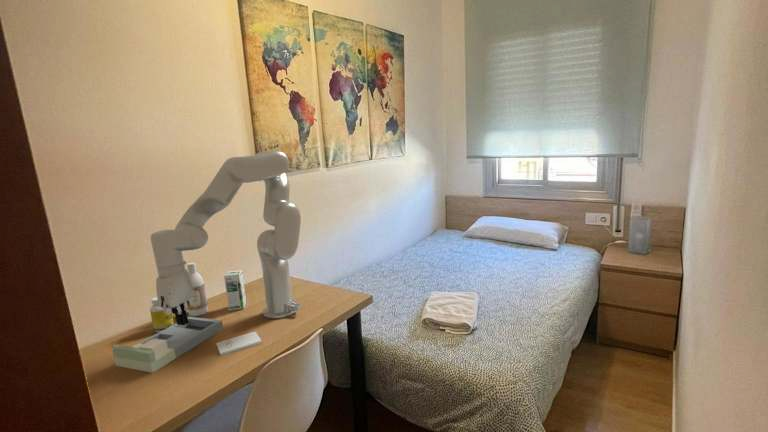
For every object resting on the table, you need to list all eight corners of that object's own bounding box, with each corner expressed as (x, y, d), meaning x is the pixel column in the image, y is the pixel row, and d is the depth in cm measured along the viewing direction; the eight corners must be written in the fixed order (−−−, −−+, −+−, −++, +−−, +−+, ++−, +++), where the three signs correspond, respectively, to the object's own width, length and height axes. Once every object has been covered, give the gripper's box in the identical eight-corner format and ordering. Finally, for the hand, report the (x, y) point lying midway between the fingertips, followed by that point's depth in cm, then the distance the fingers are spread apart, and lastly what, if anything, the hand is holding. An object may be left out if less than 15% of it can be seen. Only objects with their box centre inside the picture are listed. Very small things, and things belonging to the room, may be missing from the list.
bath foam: (186, 317, 150) (178, 267, 147) (191, 310, 157) (183, 262, 153) (206, 315, 152) (198, 264, 148) (210, 308, 158) (202, 259, 155)
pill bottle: (165, 333, 138) (160, 301, 136) (149, 332, 140) (143, 301, 138) (178, 324, 145) (173, 294, 142) (163, 324, 146) (157, 294, 144)
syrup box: (228, 311, 154) (223, 275, 152) (232, 305, 160) (227, 270, 157) (243, 309, 155) (238, 273, 152) (246, 303, 161) (242, 269, 158)
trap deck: (223, 328, 139) (220, 312, 138) (152, 372, 113) (149, 353, 112) (190, 324, 144) (187, 308, 143) (115, 365, 118) (112, 347, 117)
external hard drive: (262, 345, 127) (220, 357, 121) (255, 335, 134) (216, 346, 128) (261, 340, 127) (220, 352, 120) (255, 330, 133) (215, 342, 127)
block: (167, 350, 119) (166, 339, 119) (153, 359, 115) (151, 348, 114) (155, 349, 121) (153, 338, 120) (140, 357, 116) (138, 346, 116)
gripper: (181, 261, 132) (192, 312, 135) (141, 277, 118) (154, 334, 122) (199, 262, 129) (209, 314, 133) (159, 278, 115) (172, 336, 119)
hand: (182, 323), depth 127 cm, fingers closed
